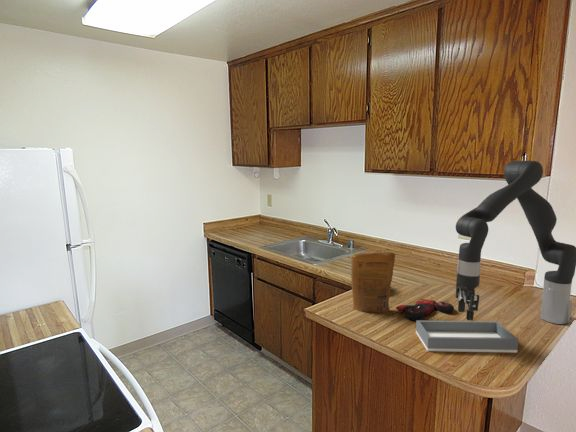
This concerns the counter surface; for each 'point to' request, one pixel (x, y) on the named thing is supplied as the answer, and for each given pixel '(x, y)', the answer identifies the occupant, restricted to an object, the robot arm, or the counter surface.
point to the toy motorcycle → (424, 308)
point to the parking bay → (466, 336)
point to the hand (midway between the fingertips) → (465, 315)
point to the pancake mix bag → (372, 281)
